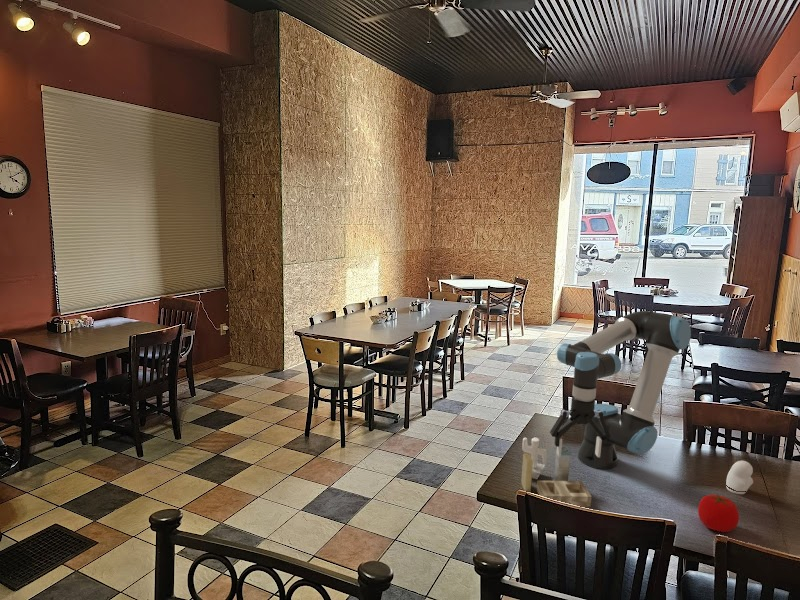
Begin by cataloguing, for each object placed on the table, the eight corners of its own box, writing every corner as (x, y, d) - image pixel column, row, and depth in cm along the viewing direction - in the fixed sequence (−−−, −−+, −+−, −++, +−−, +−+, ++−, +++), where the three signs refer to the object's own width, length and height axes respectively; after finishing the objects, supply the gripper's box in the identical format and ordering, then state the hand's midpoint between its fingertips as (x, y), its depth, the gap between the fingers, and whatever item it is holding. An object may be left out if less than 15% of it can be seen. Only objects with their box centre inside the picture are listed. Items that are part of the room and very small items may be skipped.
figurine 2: (741, 497, 190) (746, 467, 188) (721, 487, 197) (725, 457, 194) (753, 493, 193) (758, 463, 191) (732, 483, 200) (737, 454, 198)
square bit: (564, 481, 198) (567, 447, 196) (567, 487, 194) (571, 452, 191) (553, 481, 198) (556, 446, 195) (556, 487, 194) (559, 452, 191)
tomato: (699, 533, 169) (703, 503, 167) (693, 512, 180) (697, 484, 178) (740, 542, 165) (745, 511, 163) (731, 520, 176) (736, 491, 174)
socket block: (580, 491, 192) (581, 481, 191) (590, 507, 182) (591, 496, 181) (536, 490, 192) (537, 480, 191) (544, 506, 182) (545, 495, 181)
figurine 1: (543, 482, 197) (546, 445, 194) (518, 476, 201) (520, 439, 198) (547, 474, 203) (550, 438, 200) (523, 468, 207) (525, 432, 205)
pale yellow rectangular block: (526, 483, 196) (528, 453, 194) (530, 491, 191) (532, 461, 188) (521, 483, 196) (523, 453, 194) (525, 491, 191) (527, 461, 188)
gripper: (615, 394, 183) (609, 450, 187) (544, 392, 183) (539, 449, 187) (624, 402, 176) (618, 461, 180) (550, 400, 176) (545, 459, 180)
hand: (578, 455), depth 184 cm, fingers open, 13 cm apart
